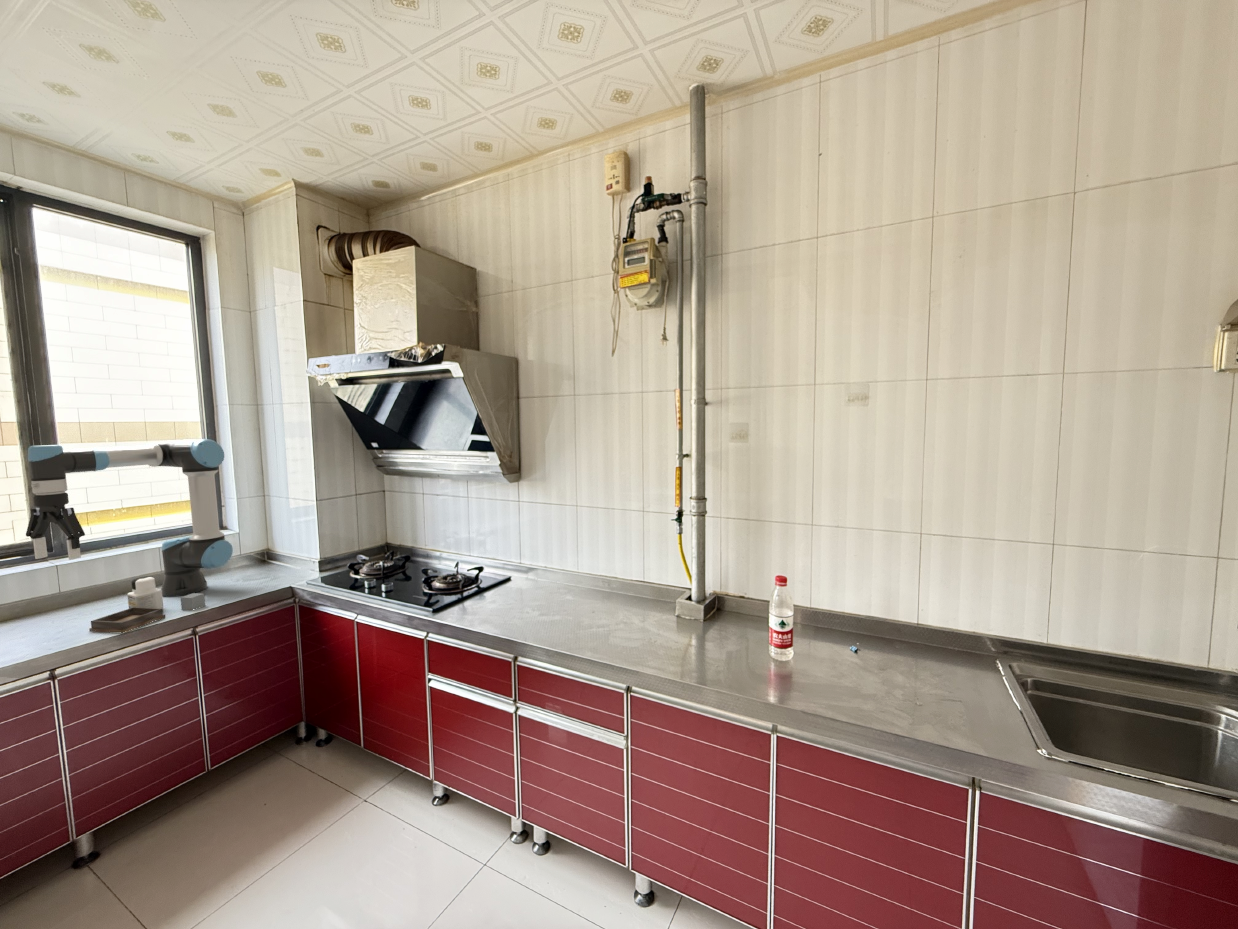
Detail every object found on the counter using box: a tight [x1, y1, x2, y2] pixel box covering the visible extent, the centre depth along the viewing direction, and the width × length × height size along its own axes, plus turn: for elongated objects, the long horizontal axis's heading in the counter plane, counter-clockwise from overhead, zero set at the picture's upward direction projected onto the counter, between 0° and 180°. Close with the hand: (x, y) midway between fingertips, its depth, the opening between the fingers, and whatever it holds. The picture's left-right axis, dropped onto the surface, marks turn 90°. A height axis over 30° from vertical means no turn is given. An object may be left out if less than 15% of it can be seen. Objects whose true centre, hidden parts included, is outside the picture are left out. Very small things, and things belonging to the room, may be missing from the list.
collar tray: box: [89, 607, 166, 634], centre depth 182 cm, size 14×14×4 cm
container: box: [126, 575, 164, 610], centre depth 194 cm, size 8×8×13 cm
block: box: [179, 592, 206, 611], centre depth 197 cm, size 5×5×5 cm
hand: (58, 558), depth 165 cm, fingers open, 13 cm apart
